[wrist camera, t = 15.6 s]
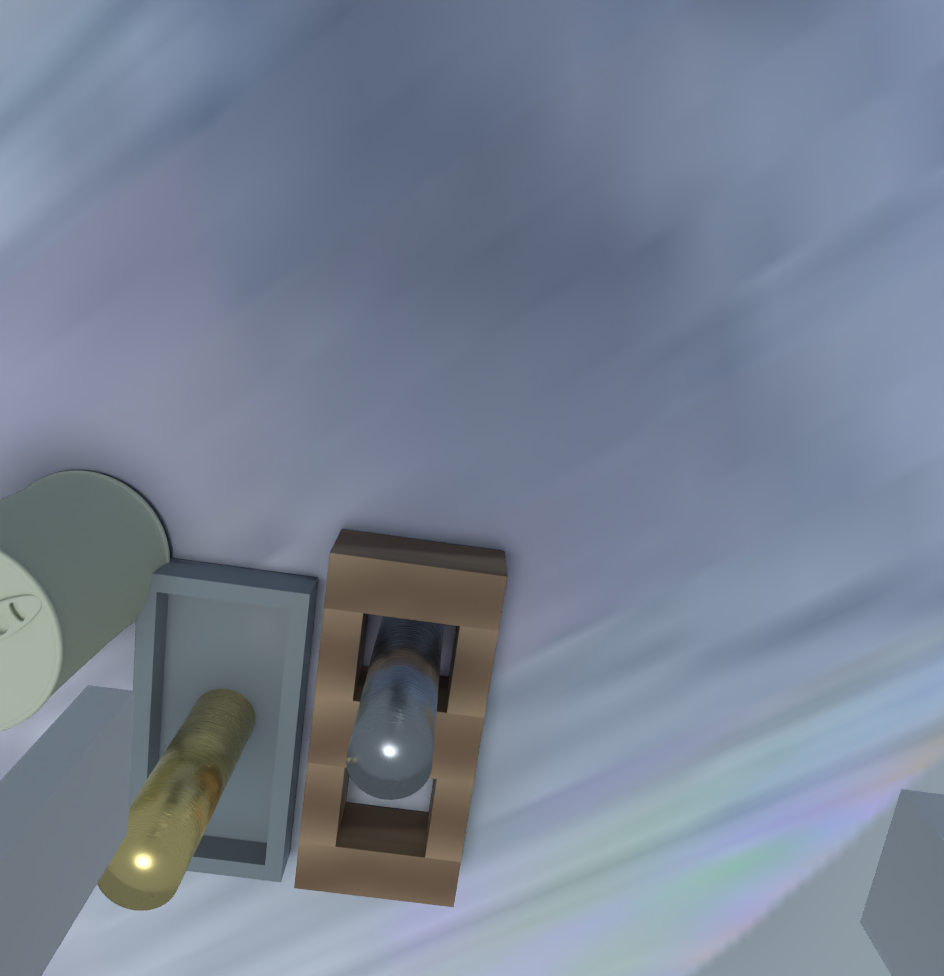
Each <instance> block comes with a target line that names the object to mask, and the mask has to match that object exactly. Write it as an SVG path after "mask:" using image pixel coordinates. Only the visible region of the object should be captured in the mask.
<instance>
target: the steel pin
mask: <svg viewBox="0 0 944 976" xmlns="http://www.w3.org/2000/svg"><path fill="white" fill-rule="evenodd" d="M442 637H443V628H442V624H440V623H433V622H425V621H418V620H410V619H402V618H395V617H387V616H383V618H382V620H381V623H380V626H379V630H378V634H377V638H376V642H375V646H374V650H373V653H372V657H371V661H370V665H369V669H368V673H367V677H366V681H365V685H364V689H363V693H362V696H361V700H360V704H359V708H358V712H357V716H356V720H355V724H354V728H353V732H352V735H351V739H350V743H349V747H348V751H347V756H346V764H347V769H348V773H349V775H350V777H351V779H352V780H353V782H354V783H355V784H356V785H357V786H358V787H359V788H360V789H361V790H362V791H364V792H365V793H367V794H369V795H371V796H373V797H377V798H380V799H389V800H392V799H401V798H404V797H407V796H410V795H412V794H414V793H415V792H417V791H418V790H419V789H421V788H422V787H423V786H424V784H425V783H426V782H427V780H428V778H429V776H430V774H431V771H432V764H433V751H434V739H435V726H436V713H437V700H438V688H439V675H440V662H441V650H442Z"/></svg>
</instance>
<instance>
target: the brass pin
mask: <svg viewBox="0 0 944 976" xmlns="http://www.w3.org/2000/svg"><path fill="white" fill-rule="evenodd" d="M255 720H256V717H255V712H254V709H253V707H252V705H251V703H250V702H249V701H248V700H247V699H246V698H245V697H244V696H243V695H241V694H239V693H238V692H235V691H232V690H229V689H215V690H211V691H209V692H207V693H205V694H203V695H202V696H201V697H200V698H199V699H198V700H197V702H196V703H195V705H194V706H193V708H192V710H191V711H190V713H189V714H188V716H187V717H186V719H185V721H184V722H183V724H182V725H181V727H180V728H179V730H178V732H177V733H176V735H175V736H174V738H173V739H172V741H171V743H170V744H169V746H168V747H167V749H166V750H165V752H164V754H163V755H162V757H161V758H160V760H159V761H158V763H157V765H156V766H155V768H154V769H153V771H152V772H151V774H150V776H149V777H148V779H147V780H146V782H145V783H144V785H143V787H142V788H141V790H140V791H139V793H138V794H137V796H136V798H135V799H134V801H133V802H132V804H131V805H130V807H129V818H128V834H127V835H126V837H125V839H124V840H123V842H122V843H121V845H120V847H119V848H118V850H117V852H116V853H115V855H114V857H113V858H112V860H111V862H110V863H109V865H108V867H107V868H106V870H105V871H104V873H103V875H102V876H101V878H100V880H99V881H98V883H97V884H98V886H99V888H100V890H101V891H102V893H103V894H104V895H105V896H106V897H107V898H108V899H110V900H111V901H112V902H114V903H115V904H117V905H119V906H122V907H124V908H127V909H132V910H151V909H155V908H158V907H160V906H162V905H164V904H165V903H167V902H168V901H169V900H170V899H171V898H172V897H173V896H174V894H175V893H176V891H177V889H178V887H179V885H180V882H181V880H182V878H183V876H184V874H185V872H186V870H187V868H188V866H189V864H190V861H191V859H192V857H193V855H194V853H195V851H196V849H197V847H198V845H199V843H200V840H201V838H202V836H203V834H204V832H205V830H206V828H207V826H208V824H209V821H210V819H211V817H212V815H213V813H214V811H215V809H216V807H217V805H218V803H219V800H220V798H221V796H222V794H223V792H224V790H225V788H226V786H227V784H228V782H229V779H230V777H231V775H232V773H233V771H234V769H235V767H236V765H237V763H238V761H239V758H240V756H241V754H242V752H243V750H244V748H245V746H246V744H247V742H248V740H249V737H250V735H251V733H252V731H253V729H254V726H255Z"/></svg>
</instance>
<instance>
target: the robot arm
mask: <svg viewBox="0 0 944 976" xmlns="http://www.w3.org/2000/svg"><path fill="white" fill-rule="evenodd" d="M133 712H134V691H129V690H121V689H114V688H106V687H98V686H90V685H88V686H87V687H86V688H85V689H84V690H83V691H82V692H81V694H80V695H79V696H78V697H77V698H76V699H75V700H74V701H73V702H72V703H71V704H70V706H69V707H68V708H67V709H66V710H65V711H64V712H63V713H62V714H61V715H60V716H59V718H58V719H57V720H56V721H55V722H54V723H53V724H52V725H51V726H50V727H49V728H48V730H47V731H46V732H45V733H44V734H43V735H42V736H41V737H40V738H39V739H38V741H37V742H36V743H35V744H34V745H33V746H32V747H31V748H30V749H29V750H28V751H27V753H26V754H25V755H24V756H23V757H22V758H21V759H20V760H19V761H18V762H17V763H16V765H15V766H14V767H13V768H12V769H11V770H10V771H9V772H8V773H7V774H6V775H5V777H4V778H3V779H2V780H1V781H0V976H41V975H42V974H43V972H44V970H45V969H46V967H47V965H48V964H49V962H50V960H51V959H52V957H53V956H54V954H55V952H56V951H57V949H58V947H59V946H60V944H61V942H62V941H63V939H64V937H65V936H66V934H67V932H68V931H69V929H70V928H71V926H72V924H73V923H74V921H75V919H76V918H77V916H78V914H79V913H80V911H81V909H82V908H83V906H84V904H85V903H86V901H87V899H88V898H89V896H90V895H91V893H92V891H93V890H94V888H95V886H96V885H97V883H98V881H99V880H100V878H101V876H102V875H103V873H104V871H105V870H106V868H107V867H108V865H109V863H110V862H111V860H112V858H113V857H114V855H115V853H116V852H117V850H118V848H119V847H120V845H121V843H122V842H123V840H124V839H125V837H126V835H127V834H128V818H129V797H130V776H131V754H132V733H133ZM860 923H861V924H862V926H863V928H864V930H865V931H866V933H867V935H868V936H869V938H870V940H871V941H872V943H873V945H874V946H875V948H876V950H877V951H878V953H879V955H880V957H881V958H882V960H883V962H884V963H885V965H886V967H887V968H888V970H889V972H890V973H891V975H892V976H944V795H943V794H935V793H927V792H920V791H912V790H904V789H901V792H900V795H899V798H898V801H897V805H896V808H895V811H894V814H893V818H892V821H891V824H890V827H889V830H888V834H887V837H886V840H885V843H884V847H883V850H882V853H881V856H880V860H879V863H878V866H877V869H876V873H875V876H874V879H873V882H872V886H871V889H870V892H869V895H868V898H867V902H866V906H865V908H864V911H863V915H862V918H861V921H860Z"/></svg>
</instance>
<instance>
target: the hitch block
mask: <svg viewBox="0 0 944 976" xmlns="http://www.w3.org/2000/svg"><path fill="white" fill-rule="evenodd" d="M506 583H507V569H506V560H505V551H500V550H493V549H485V548H478V547H471V546H463V545H456V544H448V543H441V542H434V541H426V540H419V539H412V538H404V537H397V536H390V535H382V534H375V533H368V532H360V531H353V530H345V529H342V530H341V532H340V534H339V536H338V538H337V540H336V542H335V544H334V546H333V548H332V550H331V552H330V557H329V567H328V576H327V585H326V595H325V604H324V614H323V623H322V632H321V642H320V651H319V661H318V670H317V679H316V689H315V698H314V708H313V717H312V726H311V736H310V745H309V755H308V764H307V773H306V783H305V792H304V802H303V811H302V820H301V830H300V839H299V849H298V858H297V867H296V877H295V886H294V888H299V889H307V890H315V891H324V892H332V893H340V894H349V895H357V896H365V897H374V898H382V899H390V900H399V901H407V902H415V903H423V904H432V905H440V906H448V907H454V901H455V895H456V889H457V882H458V876H459V870H460V864H461V858H462V852H463V846H464V840H465V833H466V827H467V821H468V815H469V809H470V803H471V797H472V791H473V784H474V778H475V772H476V766H477V760H478V754H479V748H480V742H481V736H482V729H483V723H484V717H485V711H486V705H487V699H488V693H489V687H490V680H491V674H492V668H493V662H494V656H495V650H496V644H497V638H498V632H499V625H500V619H501V613H502V607H503V601H504V595H505V589H506ZM368 614H372V615H380V616H387V617H395V618H402V619H410V620H418V621H425V622H433V623H440V624H448V625H455V626H456V633H455V640H454V647H453V653H452V660H451V667H450V673H449V677H442V676H439V688H438V700H437V713H436V726H435V739H434V751H433V764H432V771H431V774H430V776H429V778H433V779H434V780H433V787H432V794H431V800H430V807H429V813H427V812H419V811H411V810H403V809H395V808H387V807H379V806H371V805H363V804H355V803H347V802H346V796H347V788H348V779H349V773H348V769H347V764H346V756H347V751H348V747H349V743H350V739H351V735H352V732H353V728H354V724H355V720H356V716H357V712H358V708H359V704H360V700H361V696H362V693H363V689H364V685H365V681H366V677H367V673H368V669H369V667H365V666H362V663H363V655H364V647H365V639H366V630H367V622H368Z"/></svg>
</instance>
